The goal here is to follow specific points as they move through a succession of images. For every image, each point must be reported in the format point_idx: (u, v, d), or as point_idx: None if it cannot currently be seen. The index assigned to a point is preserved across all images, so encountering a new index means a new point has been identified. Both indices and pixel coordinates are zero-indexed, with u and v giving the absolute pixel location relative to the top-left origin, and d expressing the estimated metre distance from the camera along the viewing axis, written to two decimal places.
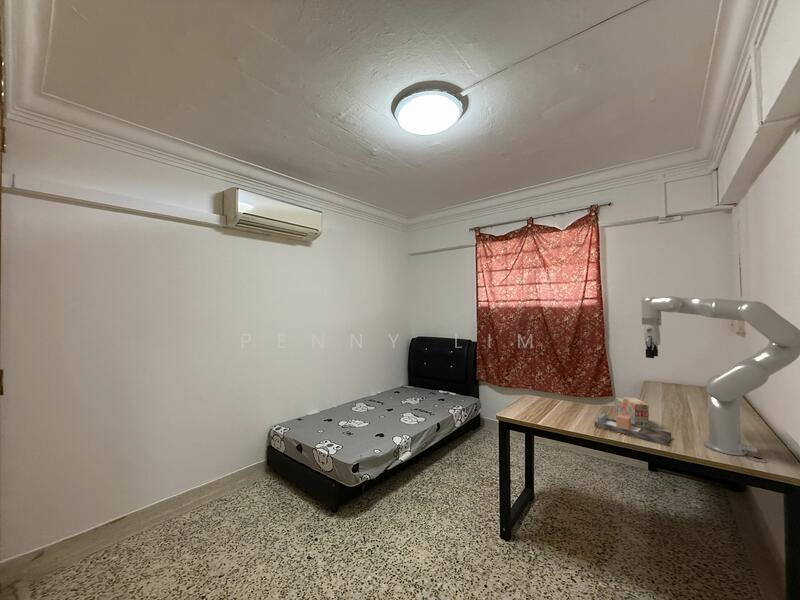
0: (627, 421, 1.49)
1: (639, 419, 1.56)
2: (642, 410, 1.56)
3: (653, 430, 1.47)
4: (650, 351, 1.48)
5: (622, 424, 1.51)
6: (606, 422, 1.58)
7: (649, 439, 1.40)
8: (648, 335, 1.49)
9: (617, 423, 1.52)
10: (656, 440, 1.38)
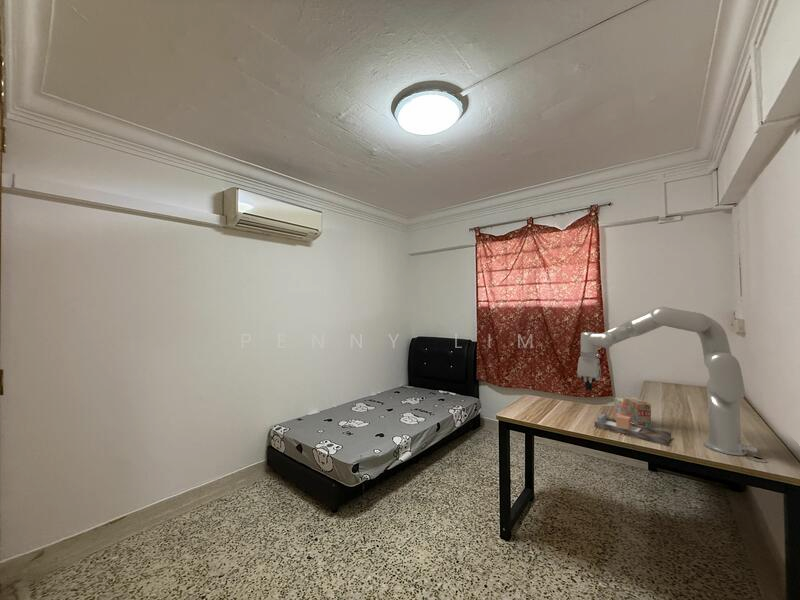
0: (627, 421, 1.49)
1: (642, 418, 1.56)
2: (645, 410, 1.56)
3: (653, 430, 1.47)
4: None
5: (622, 424, 1.51)
6: (606, 422, 1.58)
7: (649, 439, 1.40)
8: (598, 371, 1.60)
9: (617, 423, 1.52)
10: (656, 440, 1.38)
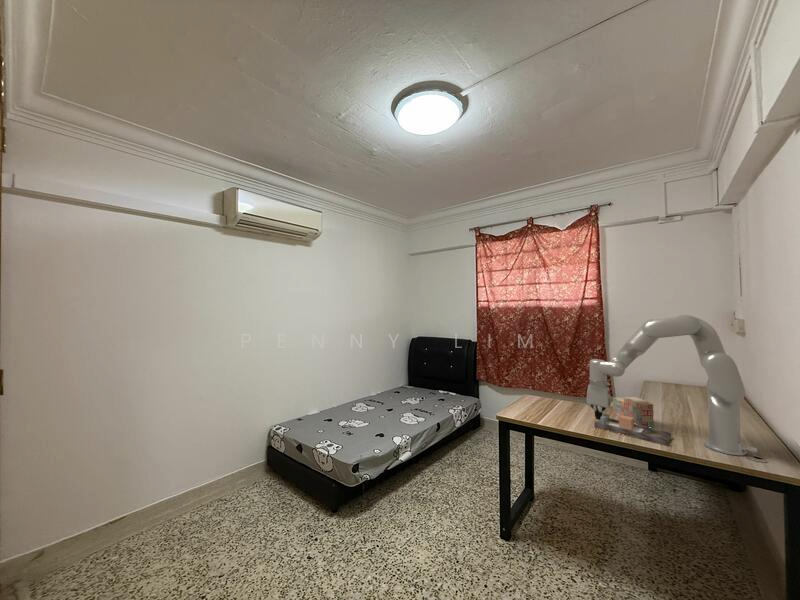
0: (630, 422, 1.48)
1: (645, 418, 1.57)
2: (648, 410, 1.57)
3: (653, 430, 1.47)
4: (601, 413, 1.59)
5: (624, 425, 1.50)
6: (608, 423, 1.57)
7: (649, 439, 1.40)
8: (608, 400, 1.57)
9: (620, 424, 1.51)
10: (656, 440, 1.38)
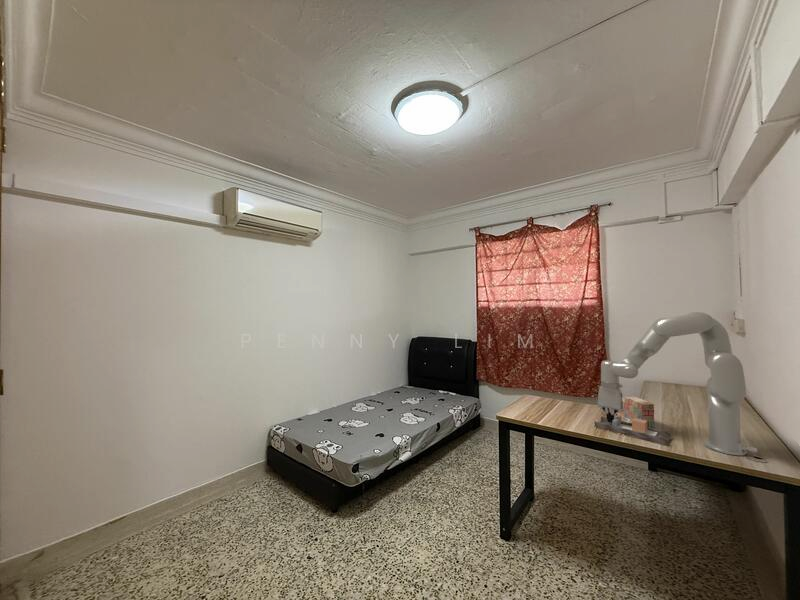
0: (643, 425, 1.44)
1: (646, 418, 1.57)
2: (649, 410, 1.57)
3: (653, 430, 1.47)
4: (613, 415, 1.56)
5: (638, 428, 1.46)
6: (621, 426, 1.53)
7: (649, 439, 1.40)
8: None
9: (633, 427, 1.47)
10: (656, 440, 1.38)
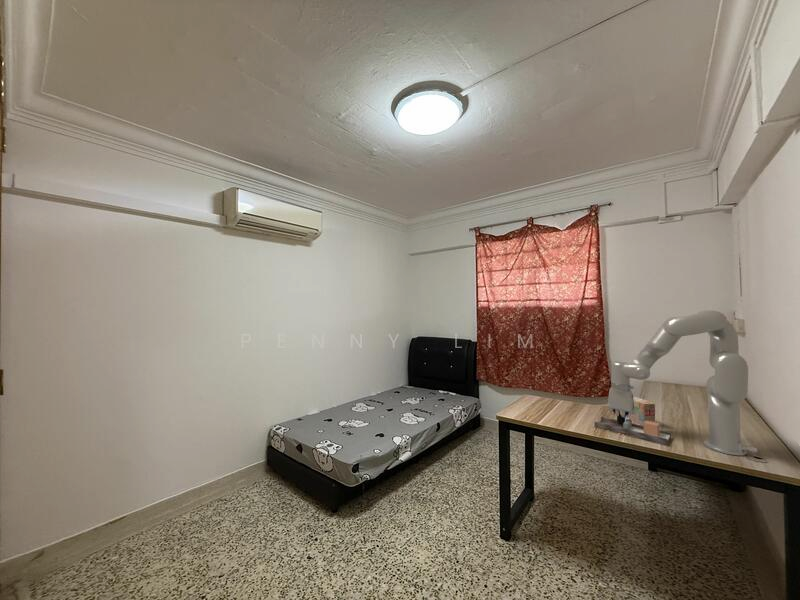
0: (656, 428, 1.41)
1: (648, 418, 1.57)
2: (650, 409, 1.57)
3: None
4: (624, 418, 1.52)
5: (650, 431, 1.42)
6: (632, 428, 1.50)
7: (649, 439, 1.40)
8: None
9: (645, 430, 1.44)
10: (656, 440, 1.38)
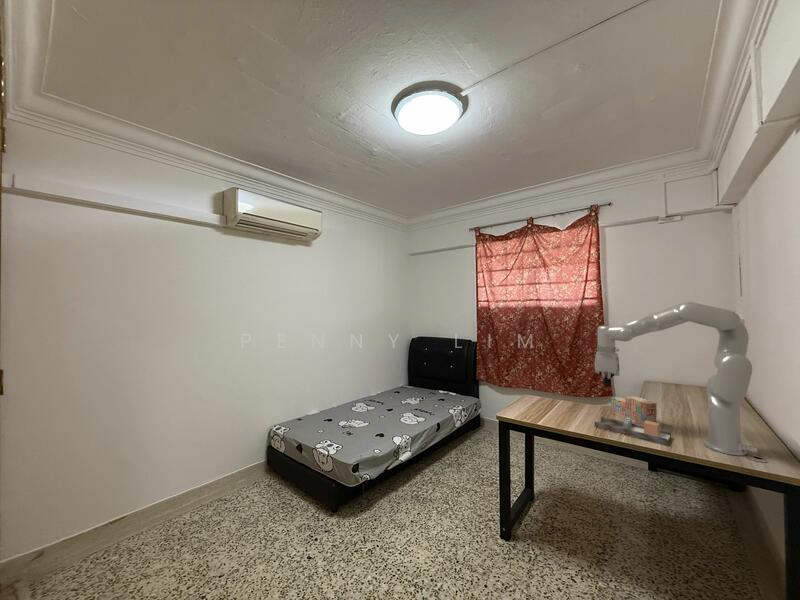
0: (656, 428, 1.41)
1: (650, 418, 1.58)
2: (652, 409, 1.58)
3: None
4: (610, 379, 1.57)
5: (650, 431, 1.42)
6: (632, 428, 1.50)
7: (649, 439, 1.40)
8: (617, 366, 1.54)
9: (645, 430, 1.44)
10: (656, 440, 1.38)
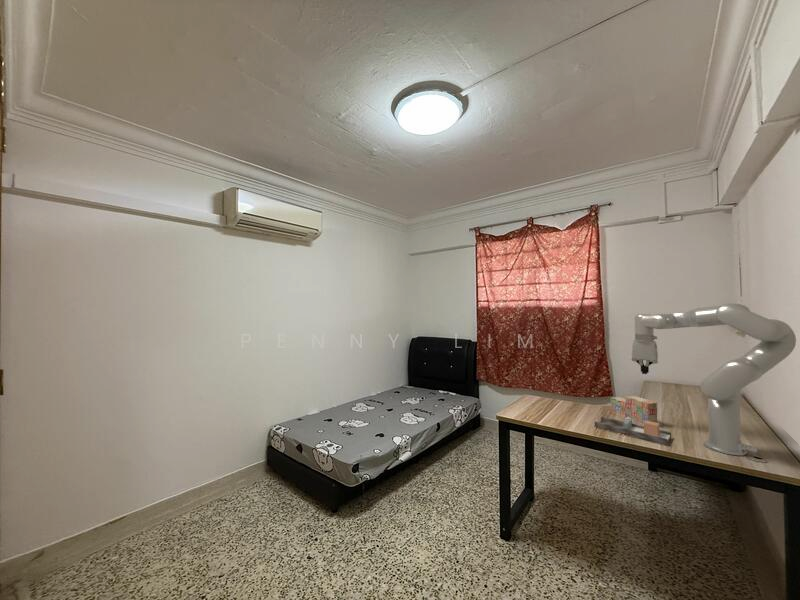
0: (656, 428, 1.41)
1: (651, 417, 1.58)
2: (653, 409, 1.59)
3: None
4: (648, 367, 1.58)
5: (650, 431, 1.42)
6: (632, 428, 1.50)
7: (649, 439, 1.40)
8: None
9: (645, 430, 1.44)
10: (656, 440, 1.38)
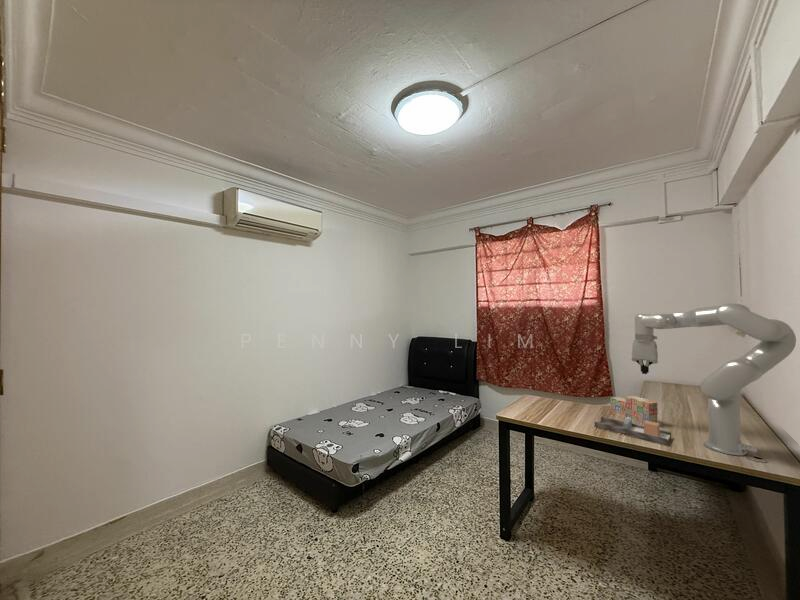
0: (656, 428, 1.41)
1: (652, 417, 1.59)
2: (653, 408, 1.59)
3: None
4: (648, 367, 1.58)
5: (650, 431, 1.42)
6: (632, 428, 1.50)
7: (649, 439, 1.40)
8: None
9: (645, 430, 1.44)
10: (656, 440, 1.38)
